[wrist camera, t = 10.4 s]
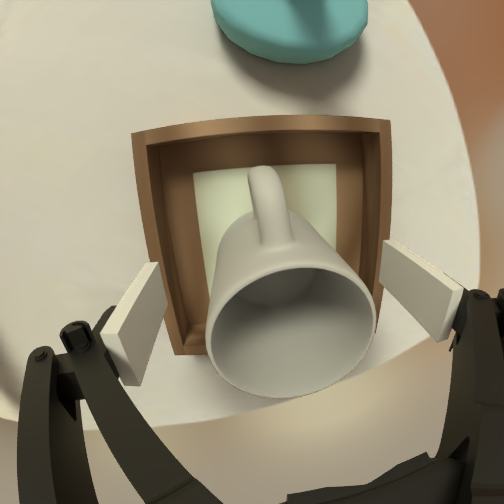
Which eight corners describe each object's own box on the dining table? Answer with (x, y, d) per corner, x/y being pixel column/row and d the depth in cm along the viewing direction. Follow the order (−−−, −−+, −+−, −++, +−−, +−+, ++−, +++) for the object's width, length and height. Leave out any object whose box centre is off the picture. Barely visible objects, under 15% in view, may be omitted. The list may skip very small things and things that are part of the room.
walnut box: (181, 328, 26) (174, 355, 22) (148, 136, 19) (131, 133, 16) (359, 310, 26) (375, 333, 22) (366, 123, 20) (390, 120, 16)
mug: (324, 292, 24) (372, 379, 14) (230, 310, 24) (227, 410, 14) (307, 153, 20) (376, 158, 9) (196, 174, 20) (154, 197, 10)
